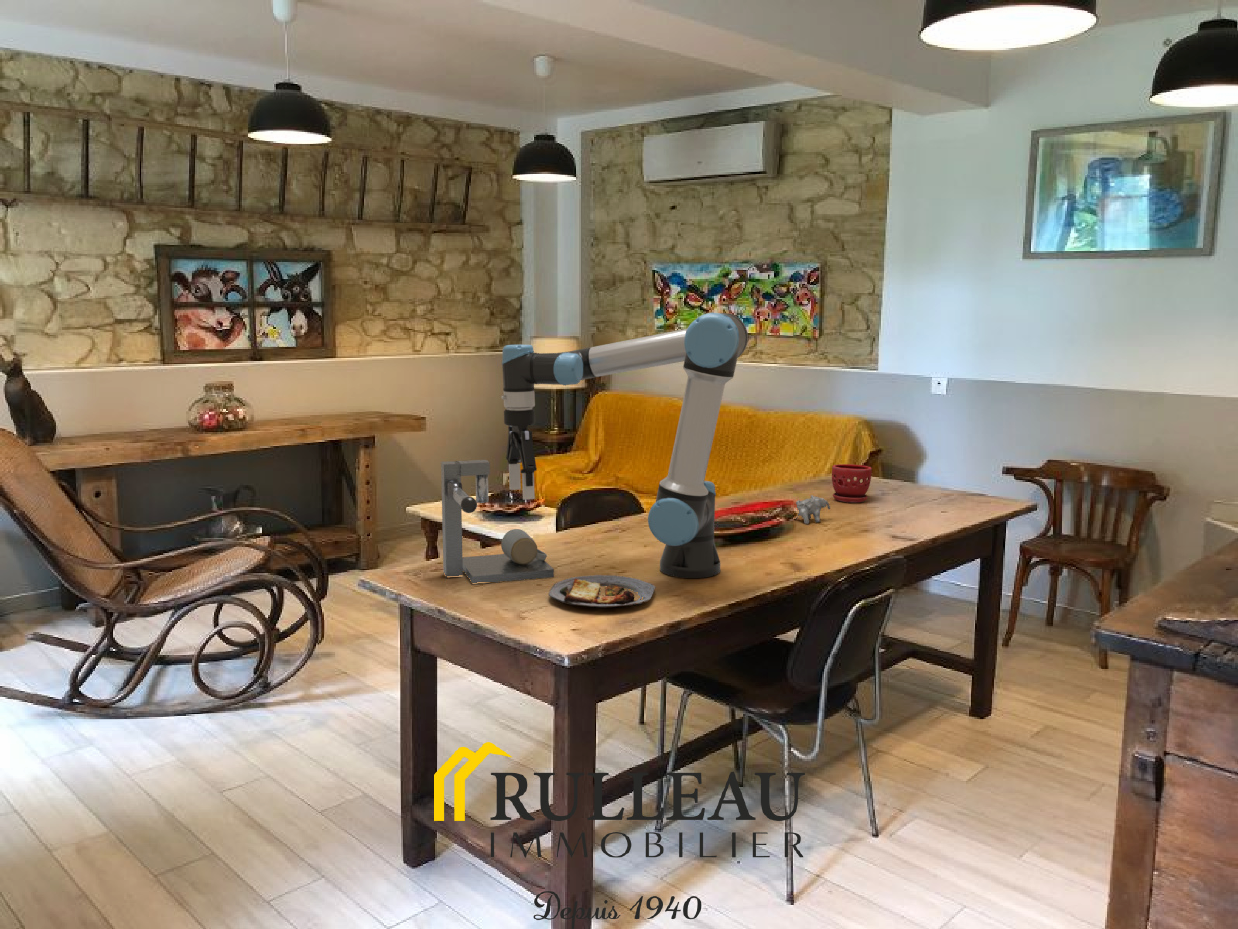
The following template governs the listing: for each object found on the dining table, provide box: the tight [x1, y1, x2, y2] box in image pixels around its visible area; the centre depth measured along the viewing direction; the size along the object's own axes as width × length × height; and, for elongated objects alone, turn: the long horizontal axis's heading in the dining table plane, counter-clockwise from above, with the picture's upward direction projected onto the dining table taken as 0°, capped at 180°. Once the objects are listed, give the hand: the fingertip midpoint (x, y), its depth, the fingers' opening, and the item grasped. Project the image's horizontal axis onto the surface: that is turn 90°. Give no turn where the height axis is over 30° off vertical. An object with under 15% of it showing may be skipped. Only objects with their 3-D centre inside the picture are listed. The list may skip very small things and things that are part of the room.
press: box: [440, 459, 555, 584], centre depth 238 cm, size 18×25×28 cm
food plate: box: [548, 574, 657, 609], centre depth 220 cm, size 25×23×4 cm
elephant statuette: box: [795, 494, 831, 525], centre depth 299 cm, size 9×12×8 cm
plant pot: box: [831, 463, 873, 504], centre depth 330 cm, size 13×13×12 cm
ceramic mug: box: [500, 528, 548, 565], centre depth 242 cm, size 11×8×8 cm
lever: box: [447, 481, 478, 514], centre depth 221 cm, size 21×4×4 cm, turn 20°
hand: (521, 494), depth 239 cm, fingers open, 13 cm apart
